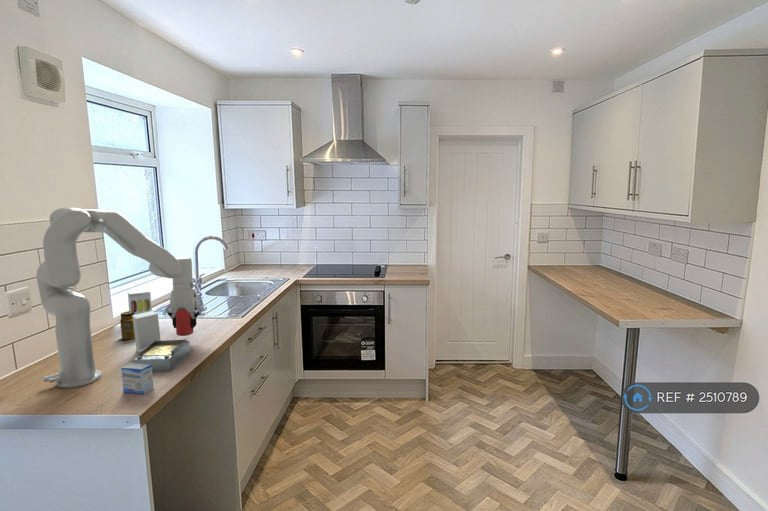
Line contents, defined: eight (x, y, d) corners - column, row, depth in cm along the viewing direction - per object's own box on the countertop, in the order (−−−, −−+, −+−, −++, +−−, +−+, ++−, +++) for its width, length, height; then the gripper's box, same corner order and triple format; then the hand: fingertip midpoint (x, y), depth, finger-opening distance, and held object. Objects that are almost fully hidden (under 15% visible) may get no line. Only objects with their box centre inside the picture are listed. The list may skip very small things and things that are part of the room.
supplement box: (131, 327, 196) (127, 294, 193) (129, 322, 203) (126, 290, 201) (153, 323, 201) (150, 291, 199) (151, 319, 209) (148, 287, 206)
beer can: (189, 330, 176) (188, 304, 175) (196, 333, 172) (195, 306, 171) (173, 334, 171) (172, 306, 170) (180, 337, 167) (179, 309, 166)
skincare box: (157, 345, 173) (154, 310, 170) (162, 349, 168) (159, 313, 166) (135, 350, 167) (131, 314, 164) (139, 355, 162) (135, 318, 160)
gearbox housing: (170, 371, 147) (168, 354, 146) (135, 372, 146) (133, 355, 145) (190, 352, 165) (189, 337, 164) (159, 353, 164) (157, 337, 163)
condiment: (142, 335, 185) (139, 310, 183) (131, 342, 176) (128, 316, 174) (126, 335, 184) (123, 310, 183) (114, 342, 176) (111, 316, 174)
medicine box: (122, 392, 131) (120, 367, 130) (133, 386, 136) (130, 362, 134) (144, 394, 130) (141, 369, 129) (154, 388, 134) (151, 363, 133)
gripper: (207, 284, 174) (208, 324, 176) (165, 284, 172) (167, 324, 175) (200, 288, 166) (202, 329, 168) (157, 287, 165) (159, 330, 167)
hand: (184, 326), depth 171 cm, fingers closed on beer can, 6 cm apart
